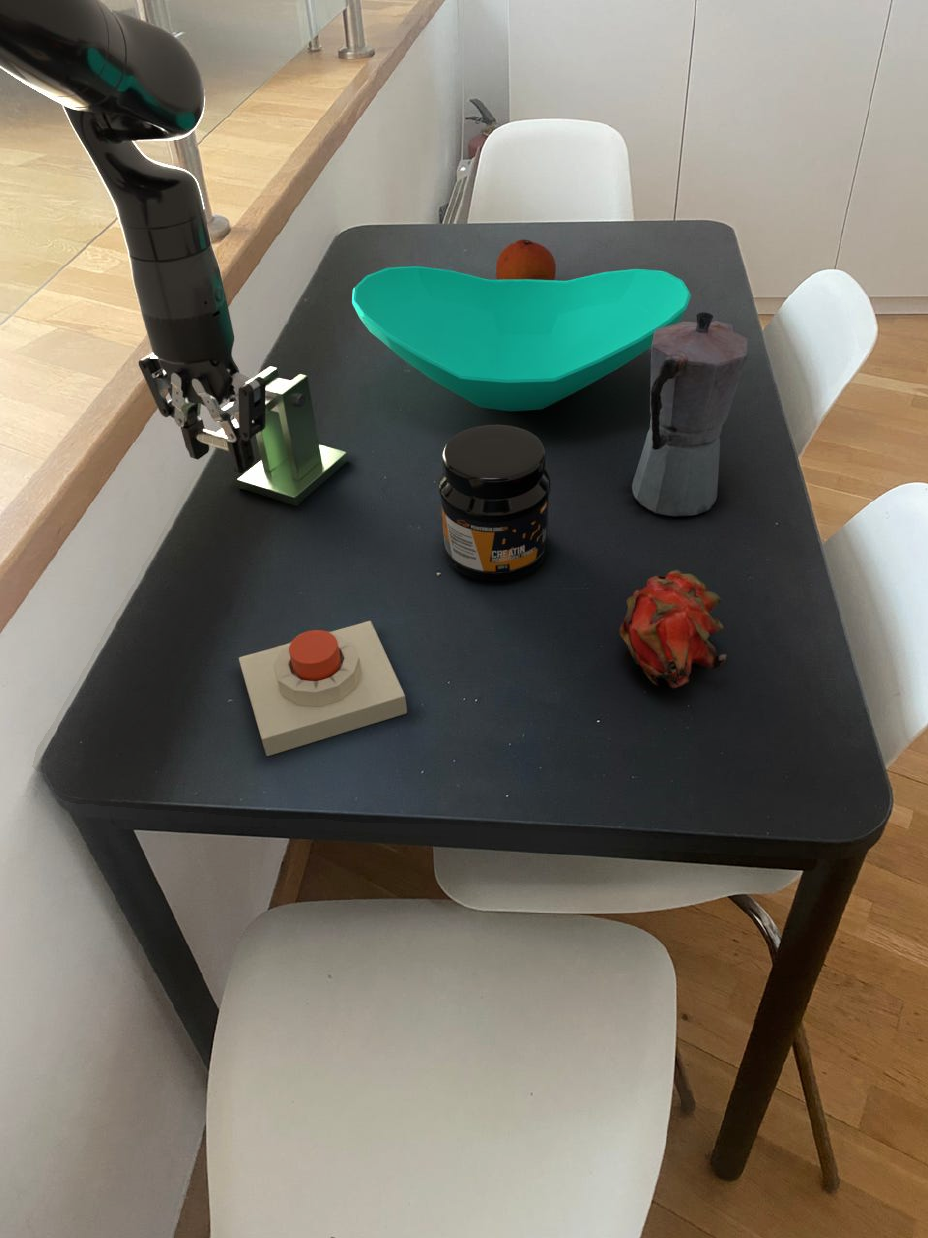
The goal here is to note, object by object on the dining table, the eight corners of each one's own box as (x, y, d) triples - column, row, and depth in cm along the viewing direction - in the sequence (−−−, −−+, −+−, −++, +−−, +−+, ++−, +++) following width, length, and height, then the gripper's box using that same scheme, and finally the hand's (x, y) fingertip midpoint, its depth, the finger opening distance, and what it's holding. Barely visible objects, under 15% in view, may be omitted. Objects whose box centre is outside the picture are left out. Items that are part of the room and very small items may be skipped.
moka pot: (742, 474, 101) (777, 297, 87) (688, 550, 91) (717, 365, 78) (661, 452, 105) (682, 279, 91) (601, 522, 95) (614, 341, 82)
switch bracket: (296, 506, 100) (277, 409, 92) (238, 488, 103) (215, 393, 95) (348, 460, 106) (334, 366, 98) (292, 444, 109) (275, 352, 101)
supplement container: (447, 591, 88) (440, 487, 80) (440, 525, 96) (433, 425, 88) (555, 582, 89) (559, 477, 81) (540, 517, 97) (542, 416, 88)
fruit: (563, 301, 136) (565, 246, 130) (505, 309, 134) (504, 254, 129) (545, 278, 142) (547, 225, 137) (490, 286, 141) (489, 232, 135)
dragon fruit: (672, 620, 86) (671, 729, 79) (601, 580, 83) (593, 688, 76) (740, 575, 80) (745, 688, 73) (666, 530, 77) (664, 642, 70)
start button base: (266, 757, 74) (257, 724, 71) (243, 675, 81) (233, 642, 78) (407, 713, 77) (403, 680, 74) (373, 637, 84) (368, 605, 81)
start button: (299, 686, 75) (295, 669, 73) (288, 655, 78) (283, 637, 76) (346, 673, 76) (343, 655, 74) (334, 641, 78) (330, 624, 77)
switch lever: (234, 460, 91) (229, 439, 89) (196, 448, 93) (190, 427, 91) (307, 404, 98) (304, 383, 97) (270, 394, 100) (266, 374, 99)
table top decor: (673, 346, 124) (686, 246, 115) (682, 458, 104) (698, 348, 95) (385, 339, 129) (376, 243, 120) (340, 445, 109) (324, 339, 100)
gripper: (92, 299, 82) (143, 463, 93) (216, 329, 77) (254, 499, 88) (152, 270, 87) (193, 428, 98) (272, 296, 81) (301, 460, 93)
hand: (222, 461), depth 93 cm, fingers closed on switch lever, 5 cm apart
